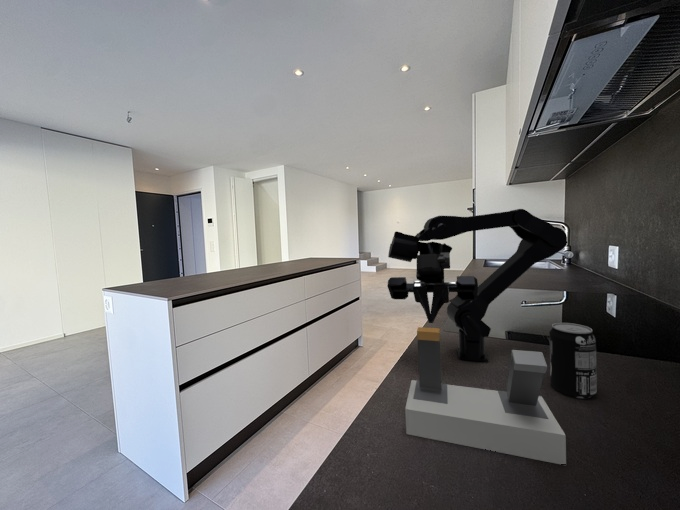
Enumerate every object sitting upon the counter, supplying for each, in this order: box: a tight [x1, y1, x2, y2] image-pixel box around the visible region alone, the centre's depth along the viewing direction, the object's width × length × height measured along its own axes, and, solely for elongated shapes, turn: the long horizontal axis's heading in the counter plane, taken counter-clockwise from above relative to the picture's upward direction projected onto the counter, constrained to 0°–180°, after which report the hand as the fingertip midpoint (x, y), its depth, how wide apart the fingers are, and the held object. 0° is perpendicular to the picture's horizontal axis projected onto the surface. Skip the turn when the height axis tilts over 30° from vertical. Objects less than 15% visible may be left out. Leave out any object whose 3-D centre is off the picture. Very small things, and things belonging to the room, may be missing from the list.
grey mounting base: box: [404, 379, 567, 465], centre depth 42 cm, size 9×20×4 cm, turn 69°
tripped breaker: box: [416, 326, 443, 390], centre depth 46 cm, size 2×4×10 cm, turn 69°
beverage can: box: [548, 322, 598, 399], centre depth 51 cm, size 7×7×12 cm
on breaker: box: [506, 349, 548, 406], centre depth 39 cm, size 2×4×10 cm, turn 70°
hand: (430, 322), depth 56 cm, fingers closed
